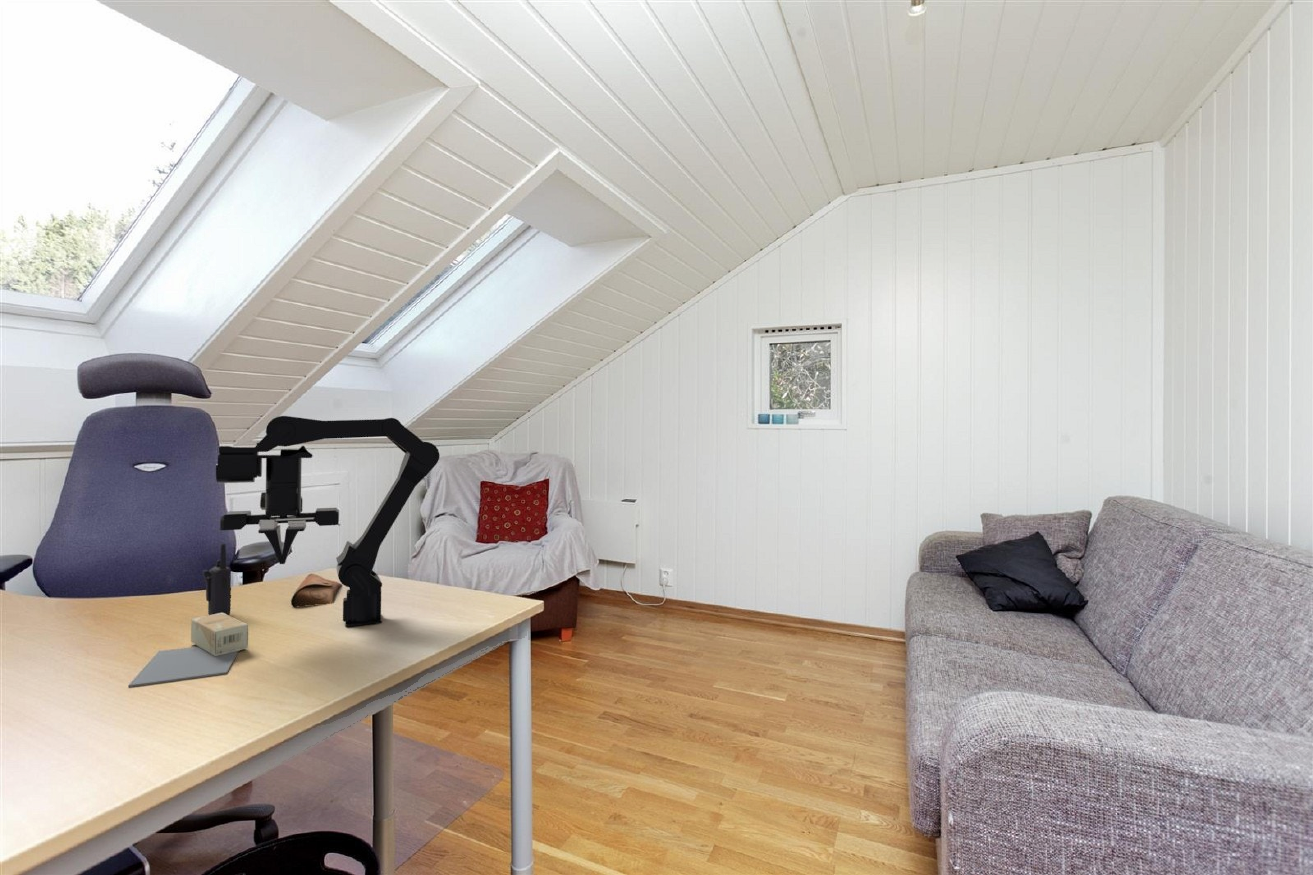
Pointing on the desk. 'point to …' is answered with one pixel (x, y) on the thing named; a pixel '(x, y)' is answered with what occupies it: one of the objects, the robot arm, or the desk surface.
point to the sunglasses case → (315, 591)
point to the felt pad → (183, 666)
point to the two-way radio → (218, 586)
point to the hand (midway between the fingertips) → (282, 563)
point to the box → (219, 634)
